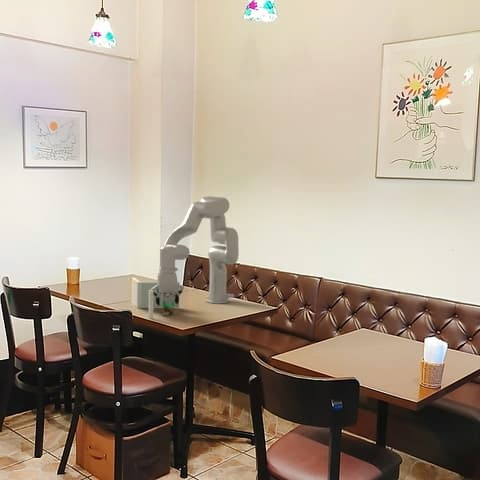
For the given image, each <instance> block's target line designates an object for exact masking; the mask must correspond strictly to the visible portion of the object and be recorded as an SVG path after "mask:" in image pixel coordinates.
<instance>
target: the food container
mask: <svg viewBox="0 0 480 480" xmlns="http://www.w3.org/2000/svg"><path fill="white" fill-rule="evenodd" d="M174 299H176V298H175V295H174V293H165V294H164V297H163V308H162V316H163V317H169V316H172V315H174V310H175V308H174Z"/></svg>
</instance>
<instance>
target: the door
mask: <svg viewBox="0 0 480 480" xmlns="http://www.w3.org/2000/svg"><path fill="white" fill-rule="evenodd" d="M140 282H141V308H140V309H149V290H151V288H153V287H155V286H156V285H157V281H140ZM177 282H178V284H179V285H181V284H180V281H177ZM179 290H180V288H179V287H178V291H179ZM154 291H155V293H157V289H155V290H154ZM178 291H177V292H178ZM174 295H176V294H175V293H174ZM163 297H164V294H161V295H160V296H159V298H160V305H157V304H156V296H154V295H153V309H154V308H155V309H157V308H158V309H160V308H161V309H163ZM176 308H180V301H179V302H178V304H176V303H175V299H174V309H176Z"/></svg>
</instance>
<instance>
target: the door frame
mask: <svg viewBox="0 0 480 480" xmlns="http://www.w3.org/2000/svg"><path fill="white" fill-rule="evenodd" d="M141 282H142V281H140V280H139V279H137V278H136V277H131V304H132V305H133V306H134V307H135V306H136V307H137V308H136V307H135V308H136V309H142V308H141ZM147 313H148V315H147V316H148V319H149V320H153V319H154V308H153V290H149V308H148V312H147Z"/></svg>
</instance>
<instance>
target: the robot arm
mask: <svg viewBox="0 0 480 480" xmlns="http://www.w3.org/2000/svg"><path fill="white" fill-rule="evenodd" d="M229 210H230V202H229V200H228V198H226V197H224V196H223V197H221V196H203V197H202V198H200V201H194V202H192V203H191V205H190V207H189V209H188V211H187V213H186V214H185V217H184V220H183V222H182V223H181V225H180V226H178V227H177V228H175V229H174V230H173V231H172V232H171V233H170V234H169V236H168V237H167V238H166V241H165V243H164V245H163V246H161V247H160V248H159V249H160V250H159V255H160V256H159V258H160V259H159V273H158V275H157V279H156V280H157V281H156V282H157V285H156V286H155V287H153V288H151V290H153V295H154V296H156V304H157V305H160V298H159V296H160V295H161V294H165V293H175V294H176V295H175V298H176V299H175V303H176V304H178V302H179V303H180V296H181V294H182V293H183V291H184V289H185V286H183V285H182V284H178V282H179V281H178V276H177V271H179V269H178V267H176V261H183V260H186V259H187V258H188V257H189V256H190V249H189V247H187V246H186V245H183V244H178V243H179V242H180V241H181V240H182V239H184V238H186V237H189V236H191V235H194V234H195V233H197V231H198V229H199V227H200V225H201V223H202V221H203V219H209V221H210V223H209V224H210V240H211V241H212V242H213V243H215V244H218V245H213V246H211V247H210V248H209V250H208V261H209V285H208V286H209V289H208V291H209V292H208V293H209V294H208V295H209V297H208V298H206V300H205V301H206V302H207V303H210V304H217V305H218V304H226V303H229V301H230V299H231V298H235V294H234V293H227V274H228V273H227V272H228V271H227V270H228V269H227V266H226V265H234V264H236V263H237V262H238V260H239V254H240V253H239V234H238V232H237V230H236V228H234V227H227V226H226V225H227V224H226V216H225V214H226V213H227V212H228V211H229ZM219 244H220V245H219ZM178 287H179V291H178ZM155 289H157V293H155V291H154V290H155ZM177 291H178V292H177Z"/></svg>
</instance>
